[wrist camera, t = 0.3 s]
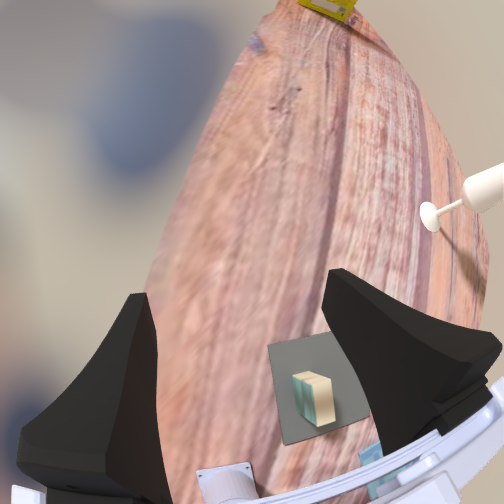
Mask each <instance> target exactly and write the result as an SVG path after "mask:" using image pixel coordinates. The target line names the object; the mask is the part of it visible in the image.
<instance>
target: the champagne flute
mask: <svg viewBox="0 0 504 504" xmlns="http://www.w3.org/2000/svg"><path fill="white" fill-rule="evenodd" d="M503 200H504V163H502V164H499V165H497V166H494V167H492V168H490V169H487V170H485V171H482V172H480V173H478V174H475V175H473V176H471V177H468V178H467V179H466V180H465V182H464V184H463V187H462V195H461V199H460V200H458V201H456V202H454V203H452V204H450V205H448V206H446V207H444V208H442V209H439V210H437V209H436V207H435V206H434V205H433V204H431V203H430V202H424V203H422V205H421V207H420V216H421V219H422V222H423V224H424V225H425V227H426V228H427V229H428V230H429V231H431V232H437V231H438V230H439V229H440V226H441V219H440V215H443V214H445V213H447V212H449V211H451V210H453V209H455V208H457V207H459V206H461V205H465V206H466V207H468V208H469V209H471V210H472V211H474V212H478V213H482V212H485V211H486V210H488V209H490V208H491V207H493V206H495V205H496V204H498V203H499V202H501V201H503Z"/></svg>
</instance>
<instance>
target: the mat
mask: <svg viewBox="0 0 504 504" xmlns="http://www.w3.org/2000/svg"><path fill="white" fill-rule="evenodd" d="M268 350H269V357H270V363H271V369H272V375H273V382H274V388H275V394H276V401H277V407H278V413H279V419H280V426H281V432H282V438H283V444H284V445H288V444H291V443H295V442H298V441H301V440H305V439H308V438H311V437H314V436H317V435H320V434H323V433H326V432H329V431H332V430H335V429H337V428H340V427H343V426H345V425H348V424H351V423H353V422H356V421H358V420H361V419H363V418H365V417H368V416H370V410H369V404H368V401H367V399H366V396H365V393H364V391H363V388H362V386H361V384H360V381H359V379H358V377H357V375H356V373H355V371H354V369H353V367H352V365H351V364H350V362H349V360H348V358H347V357H346V355H345V353H344V352H343V350H342V348H341V347H340V345H339V343H338V342H337V340H336V338H335V336H334V335H333V333H332V331H329V332H325V333H321V334H317V335H313V336H308V337H304V338H299V339H295V340H290V341H285V342H280V343H275V344H270V345H268ZM306 371H310V372H313V373H316V374H318V375H321V376H324V377H327V378H330V379H331V385H332V393H333V402H334V411H335V420H336V421H334V422H331V423H328V424H325V425H322V426H319V427H317V426H316V425H315V424H313V423H312V422H310V421H309V420H308V419H306V418H305V417H304V416H302V415H301V414H299V413H298V412H297V407H296V400H295V393H294V387H293V380H292V377H293V375H295V374H299V373H303V372H306Z"/></svg>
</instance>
